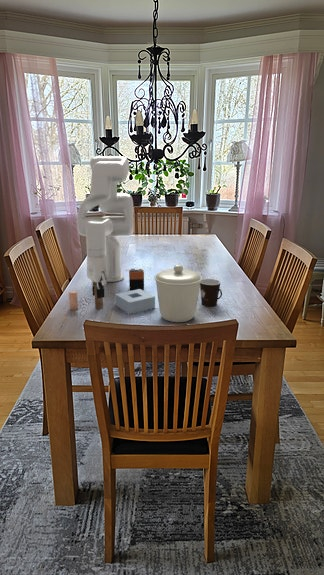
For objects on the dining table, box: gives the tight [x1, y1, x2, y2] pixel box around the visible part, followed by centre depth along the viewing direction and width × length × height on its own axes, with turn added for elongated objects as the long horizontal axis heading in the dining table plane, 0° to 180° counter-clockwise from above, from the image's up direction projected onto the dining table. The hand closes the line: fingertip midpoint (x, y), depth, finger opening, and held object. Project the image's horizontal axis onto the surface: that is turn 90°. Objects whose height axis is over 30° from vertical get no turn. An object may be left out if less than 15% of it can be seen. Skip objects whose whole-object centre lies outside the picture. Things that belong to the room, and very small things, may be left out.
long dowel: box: [94, 280, 104, 310], centre depth 162 cm, size 3×3×13 cm
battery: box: [128, 268, 145, 291], centre depth 185 cm, size 4×7×10 cm, turn 95°
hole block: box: [114, 289, 156, 315], centre depth 164 cm, size 12×12×5 cm
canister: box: [154, 264, 203, 323], centre depth 151 cm, size 18×18×21 cm
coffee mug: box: [199, 278, 223, 308], centre depth 165 cm, size 12×9×10 cm
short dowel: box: [68, 290, 79, 311], centre depth 162 cm, size 3×3×7 cm
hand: (98, 295), depth 162 cm, fingers closed on long dowel, 3 cm apart
